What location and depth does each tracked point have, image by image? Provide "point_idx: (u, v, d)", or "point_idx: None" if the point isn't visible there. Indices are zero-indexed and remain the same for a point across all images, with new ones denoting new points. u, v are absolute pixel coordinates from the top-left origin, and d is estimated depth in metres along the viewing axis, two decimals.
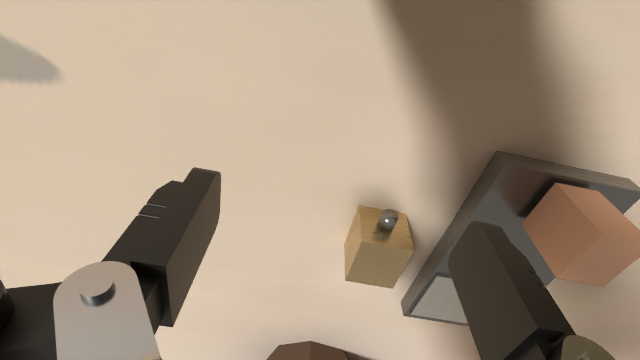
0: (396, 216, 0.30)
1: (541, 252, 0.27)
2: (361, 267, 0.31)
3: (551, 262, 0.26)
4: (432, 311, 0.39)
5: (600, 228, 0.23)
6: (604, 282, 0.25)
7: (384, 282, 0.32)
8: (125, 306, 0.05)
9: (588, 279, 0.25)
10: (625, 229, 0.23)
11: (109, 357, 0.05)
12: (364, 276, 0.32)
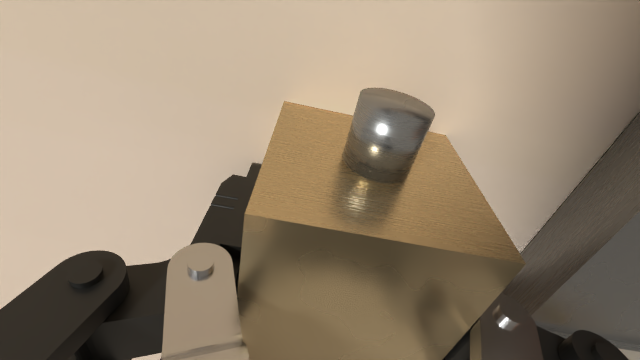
0: (425, 109, 0.07)
1: None
2: (277, 335, 0.07)
3: None
4: None
5: None
6: None
7: None
8: (227, 281, 0.06)
9: None
10: None
11: (202, 328, 0.05)
12: None
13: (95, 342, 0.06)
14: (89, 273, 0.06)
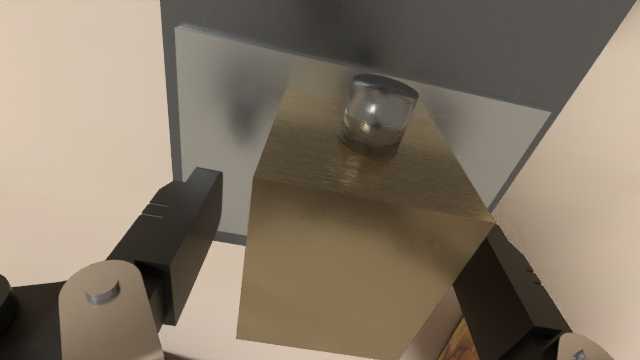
0: (410, 91, 0.08)
1: None
2: (279, 295, 0.08)
3: None
4: (240, 212, 0.13)
5: None
6: None
7: (369, 344, 0.09)
8: (130, 304, 0.05)
9: None
10: None
11: (113, 355, 0.05)
12: (296, 325, 0.09)
13: None
14: None
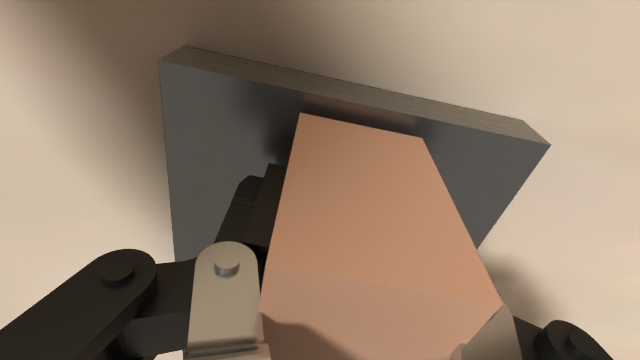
0: None
1: None
2: None
3: None
4: None
5: (289, 235, 0.06)
6: None
7: None
8: (254, 278, 0.06)
9: None
10: (412, 239, 0.06)
11: (226, 324, 0.05)
12: None
13: (123, 338, 0.06)
14: (121, 271, 0.06)
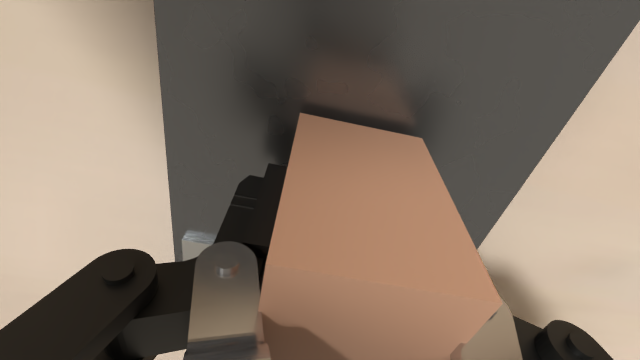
0: None
1: None
2: None
3: None
4: None
5: (289, 234, 0.06)
6: None
7: None
8: (253, 278, 0.06)
9: None
10: (412, 239, 0.06)
11: (226, 324, 0.05)
12: None
13: (123, 338, 0.06)
14: (122, 271, 0.06)
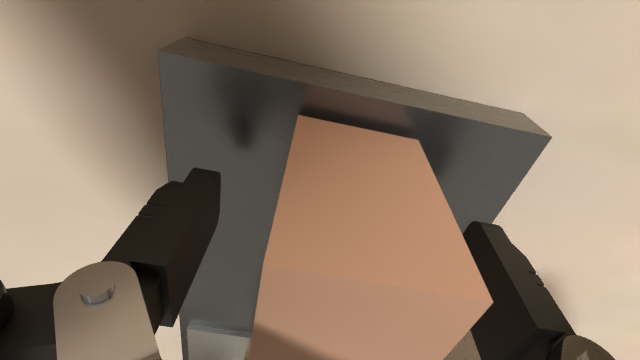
0: None
1: None
2: None
3: None
4: None
5: (286, 235, 0.06)
6: None
7: None
8: (125, 306, 0.05)
9: None
10: (406, 239, 0.06)
11: (109, 357, 0.05)
12: None
13: None
14: None
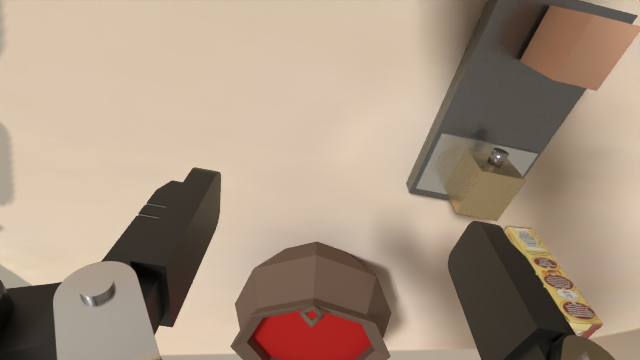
0: (506, 152, 0.35)
1: (539, 70, 0.29)
2: (474, 198, 0.35)
3: (548, 71, 0.27)
4: (437, 183, 0.40)
5: (592, 14, 0.24)
6: (598, 84, 0.27)
7: (491, 214, 0.37)
8: (125, 306, 0.05)
9: (583, 80, 0.27)
10: None
11: (109, 357, 0.05)
12: (474, 208, 0.36)
13: None
14: None
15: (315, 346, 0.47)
